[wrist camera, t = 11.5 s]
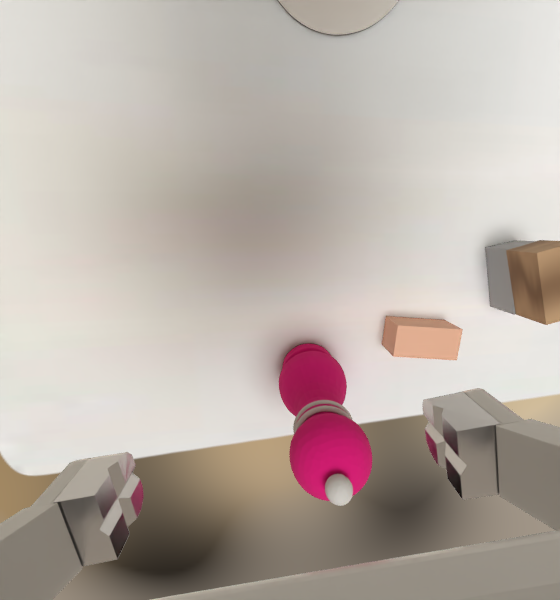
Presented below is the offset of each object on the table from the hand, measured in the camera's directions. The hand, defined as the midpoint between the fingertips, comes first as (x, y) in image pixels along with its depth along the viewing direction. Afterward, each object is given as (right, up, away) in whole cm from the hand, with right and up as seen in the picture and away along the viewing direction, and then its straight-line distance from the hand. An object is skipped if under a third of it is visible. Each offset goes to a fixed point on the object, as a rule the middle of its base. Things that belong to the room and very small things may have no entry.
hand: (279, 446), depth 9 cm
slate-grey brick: (+26, +7, +29) cm, 39 cm away
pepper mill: (+3, -4, +31) cm, 31 cm away
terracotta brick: (+16, 0, +30) cm, 34 cm away
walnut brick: (+26, +6, +25) cm, 36 cm away
